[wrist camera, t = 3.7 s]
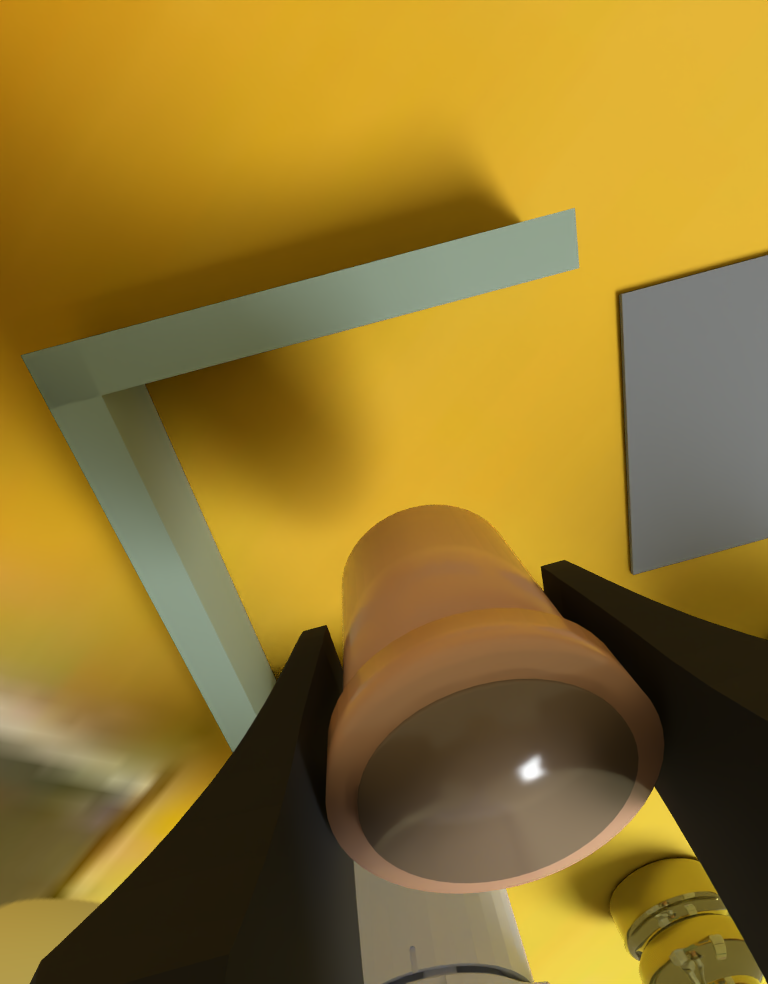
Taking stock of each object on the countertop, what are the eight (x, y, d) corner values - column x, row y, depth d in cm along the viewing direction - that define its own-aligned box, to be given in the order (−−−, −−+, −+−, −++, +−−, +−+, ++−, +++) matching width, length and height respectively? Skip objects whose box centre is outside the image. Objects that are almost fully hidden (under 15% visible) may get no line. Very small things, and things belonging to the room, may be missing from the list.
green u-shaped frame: (573, 637, 21) (609, 684, 18) (260, 722, 21) (249, 783, 18) (529, 230, 15) (574, 208, 12) (80, 349, 15) (20, 355, 12)
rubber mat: (818, 521, 20) (822, 523, 20) (631, 572, 20) (633, 574, 20) (859, 230, 16) (864, 229, 16) (619, 294, 16) (622, 294, 16)
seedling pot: (532, 634, 14) (668, 852, 8) (360, 680, 14) (375, 930, 8) (509, 471, 12) (669, 612, 6) (305, 525, 12) (275, 716, 6)
